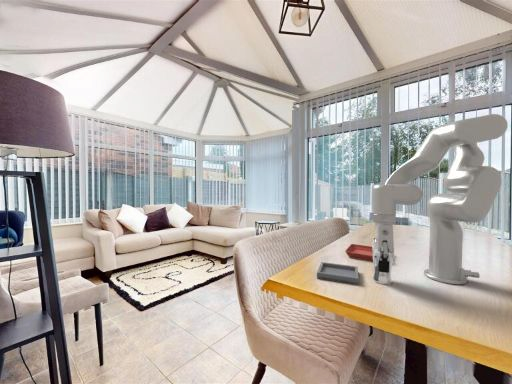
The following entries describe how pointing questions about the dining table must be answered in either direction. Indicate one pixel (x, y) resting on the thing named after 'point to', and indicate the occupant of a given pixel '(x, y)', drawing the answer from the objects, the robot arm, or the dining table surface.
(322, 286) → the dining table surface
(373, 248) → the beer glass
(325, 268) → the serving tray
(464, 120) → the robot arm
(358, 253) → the plant saucer
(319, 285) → the dining table surface
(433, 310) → the dining table surface
